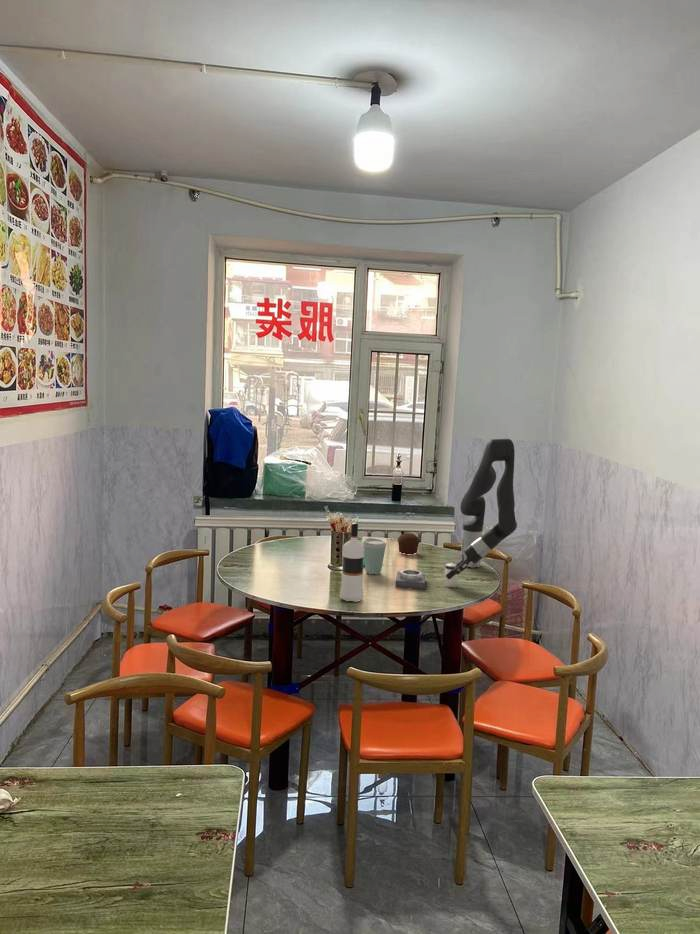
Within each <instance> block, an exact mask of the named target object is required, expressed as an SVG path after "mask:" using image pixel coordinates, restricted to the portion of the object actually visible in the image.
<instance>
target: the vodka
mask: <svg viewBox="0 0 700 934" xmlns="http://www.w3.org/2000/svg"><path fill="white" fill-rule="evenodd" d="M350 527H351V529H350V531H351V532H350V540H347V541H345V543H344V544H343V546H342V568H341V569H342V572H341V584H340V586H341V587H340V590H339V598H342V599H344V600H349V601H357V600H361V601H363V600H364V586H363V584H364V583H363V581H364V580H363V578H364V565H363V561H364V550H365V548H364V545H363V544H362V543H361V542H362V541H360V540H358V539H359V538H358V536H359V535H358V533H359V524H358V523H357V522H351V526H350ZM342 599H341V600H342Z"/></svg>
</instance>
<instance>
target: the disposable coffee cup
mask: <svg viewBox="0 0 700 934" xmlns="http://www.w3.org/2000/svg"><path fill="white" fill-rule="evenodd" d="M363 541H364V542H363V543H362V544H363V545H364V548H365V550H364V560H365V565H364V568H365V570H364V571H365V572H367V573H370V574H378V575H380V574H381V572H382V570H383V569H382V568H383V563H384V557H385V553H386V547H387V543H386V542H385V541H384V540H383V539H380V538H375V537H367V538H364V539H363ZM367 573H366V574H367ZM379 573H380V574H379ZM370 574H369V575H370Z"/></svg>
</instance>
